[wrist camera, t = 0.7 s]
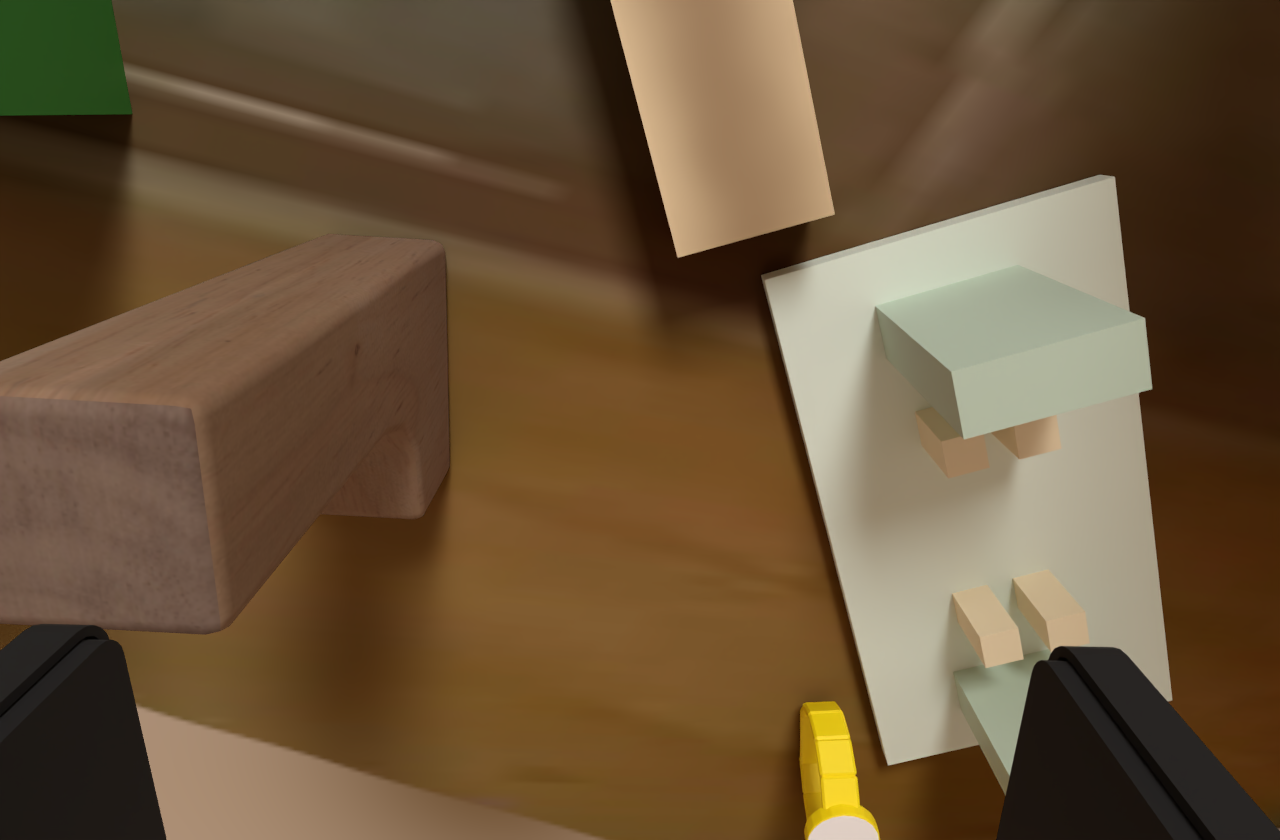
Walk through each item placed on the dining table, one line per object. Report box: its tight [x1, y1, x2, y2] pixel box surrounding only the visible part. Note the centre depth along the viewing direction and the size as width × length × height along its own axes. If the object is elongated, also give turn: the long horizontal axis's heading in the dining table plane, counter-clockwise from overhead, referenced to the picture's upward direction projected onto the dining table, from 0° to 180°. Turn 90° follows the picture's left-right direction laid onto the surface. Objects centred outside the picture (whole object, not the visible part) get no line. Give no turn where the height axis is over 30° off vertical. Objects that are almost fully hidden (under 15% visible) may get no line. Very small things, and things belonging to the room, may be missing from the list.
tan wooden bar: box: [610, 0, 834, 258], centre depth 26 cm, size 5×12×4 cm, turn 16°
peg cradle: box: [761, 175, 1172, 795], centre depth 29 cm, size 12×22×9 cm, turn 17°
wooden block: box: [0, 234, 450, 634], centre depth 23 cm, size 9×4×18 cm, turn 177°
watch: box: [799, 701, 880, 840], centre depth 35 cm, size 6×3×6 cm, turn 4°
